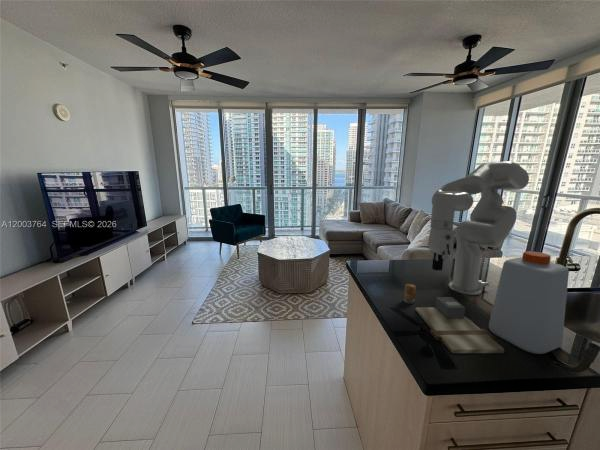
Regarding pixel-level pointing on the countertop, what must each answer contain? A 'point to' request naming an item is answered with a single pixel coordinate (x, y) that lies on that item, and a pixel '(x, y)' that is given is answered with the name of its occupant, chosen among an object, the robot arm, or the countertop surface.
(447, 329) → the board
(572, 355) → the countertop surface
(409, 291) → the orange brown cylinder
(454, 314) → the block
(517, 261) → the plastic bottle
